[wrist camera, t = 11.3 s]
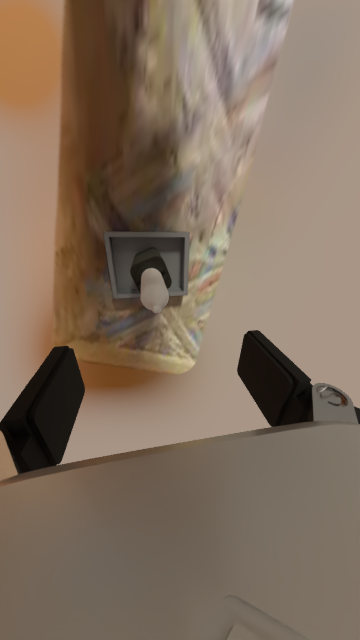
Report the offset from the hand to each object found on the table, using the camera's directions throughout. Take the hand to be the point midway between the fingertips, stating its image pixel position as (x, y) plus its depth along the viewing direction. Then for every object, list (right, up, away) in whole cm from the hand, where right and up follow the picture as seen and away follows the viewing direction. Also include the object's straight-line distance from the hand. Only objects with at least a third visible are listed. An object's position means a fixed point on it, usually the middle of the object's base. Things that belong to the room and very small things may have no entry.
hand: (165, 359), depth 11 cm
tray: (-6, +14, +29) cm, 32 cm away
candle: (-6, +14, +28) cm, 32 cm away
